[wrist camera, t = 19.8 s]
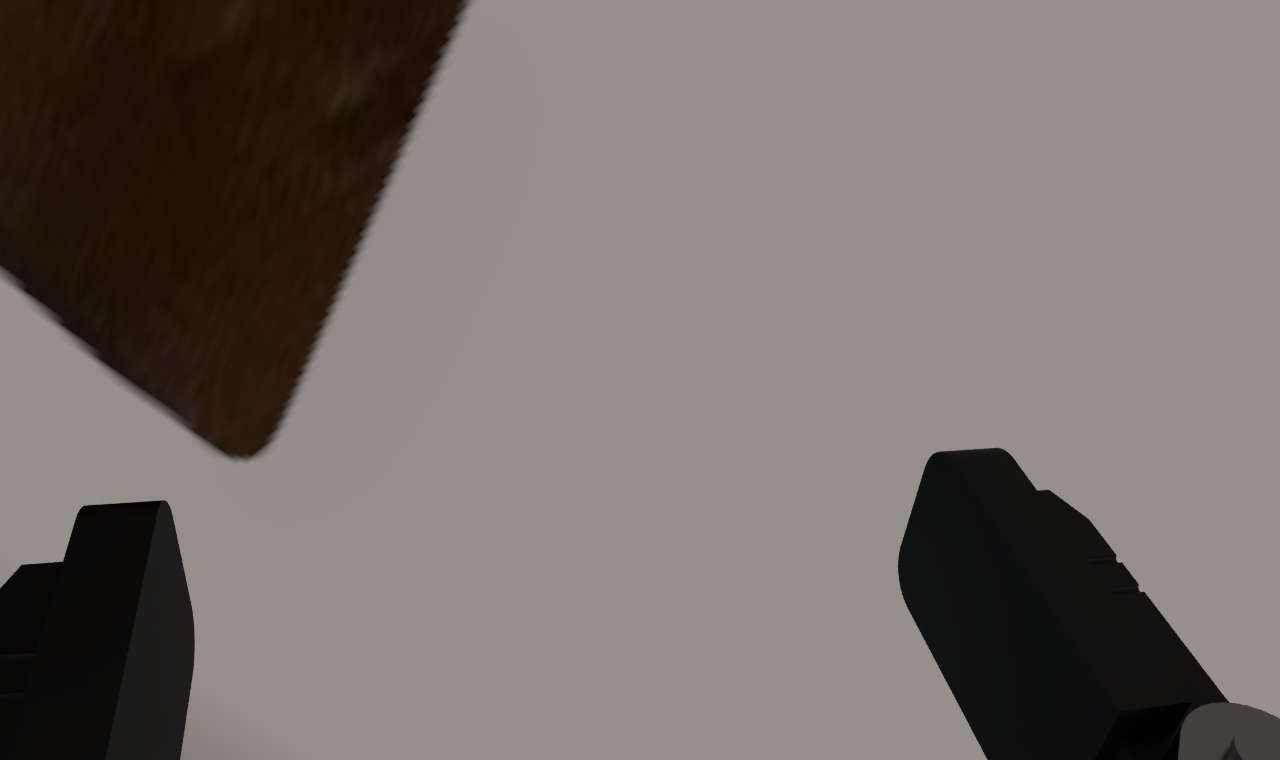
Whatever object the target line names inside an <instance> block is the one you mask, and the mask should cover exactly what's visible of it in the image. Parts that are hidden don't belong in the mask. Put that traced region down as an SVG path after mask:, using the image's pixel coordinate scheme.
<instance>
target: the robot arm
mask: <svg viewBox="0 0 1280 760" xmlns="http://www.w3.org/2000/svg"><path fill="white" fill-rule="evenodd" d="M898 573H899V581H900V587H901V591H902V595H903V598H904V600H905V603H906V605H907V607H908V609H909V611H910V613H911V615H912V617H913V619H914V621H915V622H916V625H917V626H918V628H919V630H920V632H921V634H922V636H923V638H924V640H925V642H926V643H927V645H928V647H929V649H930V651H931V653H932V655H933V657H934V659H935V661H936V662H937V664H938V666H939V668H940V670H941V672H942V674H943V676H944V678H945V680H946V682H947V683H948V685H949V687H950V689H951V691H952V693H953V695H954V697H955V699H956V700H957V702H958V704H959V706H960V708H961V710H962V712H963V714H964V716H965V718H966V719H967V721H968V723H969V725H970V727H971V729H972V731H973V733H974V735H975V737H976V739H977V741H978V742H979V744H980V746H981V748H982V750H983V752H984V754H985V756H986V758H987V760H1280V719H1279V718H1277V717H1276V716H1274V715H1271V714H1269V713H1267V712H1264V711H1262V710H1259V709H1256V708H1253V707H1250V706H1246V705H1241V704H1236V703H1229V701H1228V700H1227V699H1226V698H1225V697H1224V695H1223V694H1222V693H1221V692H1220V690H1219V689H1218V688H1217V686H1216V685H1215V684H1214V682H1213V681H1212V680H1211V678H1210V677H1209V676H1208V675H1207V673H1206V672H1205V671H1204V669H1203V668H1202V667H1201V665H1200V664H1199V663H1198V661H1197V660H1196V659H1195V657H1194V656H1193V655H1192V654H1191V652H1190V651H1189V650H1188V649H1187V647H1186V646H1185V644H1184V643H1183V642H1182V641H1181V639H1180V638H1179V637H1178V635H1177V634H1176V633H1175V631H1174V630H1173V629H1172V627H1171V626H1170V625H1169V623H1168V622H1167V621H1166V620H1165V618H1164V617H1163V616H1162V614H1161V613H1160V612H1159V611H1158V609H1157V608H1156V606H1155V605H1154V604H1153V602H1152V601H1151V600H1150V599H1149V597H1148V596H1147V595H1146V593H1145V592H1140V591H1139V589H1138V583H1137V582H1136V580H1135V579H1134V578H1133V577H1132V575H1131V574H1130V572H1129V571H1128V570H1127V569H1126V567H1125V566H1124V565H1123V564H1122V562H1121V563H1118V562H1117V561H1116V554H1115V553H1114V551H1113V550H1112V549H1111V547H1110V546H1109V545H1108V544H1107V542H1106V541H1105V540H1104V538H1103V537H1102V536H1101V534H1100V533H1099V532H1098V530H1097V529H1096V528H1095V527H1094V525H1093V524H1092V523H1091V522H1090V520H1089V519H1088V518H1086V517H1085V516H1084V515H1082V514H1081V513H1080V512H1078V511H1077V510H1075V509H1074V508H1073V507H1071V506H1070V505H1069V504H1067V503H1066V502H1065V501H1063V500H1062V499H1061V498H1059V497H1058V496H1057V495H1055V494H1054V493H1052V492H1051V491H1050V490H1041V491H1037V490H1036V488H1035V487H1034V486H1033V484H1032V483H1031V482H1030V480H1029V479H1028V477H1027V476H1026V475H1025V473H1024V472H1023V471H1022V469H1021V468H1020V467H1019V465H1018V464H1017V462H1016V461H1015V460H1014V459H1013V457H1012V456H1011V455H1010V454H1009V453H1008V452H1007V451H1005V450H1003V449H1001V448H990V449H974V450H960V451H944V452H936V453H935V454H933V455H932V456H931V457H930V458H929V460H928V462H927V464H926V466H925V469H924V472H923V475H922V479H921V482H920V485H919V489H918V492H917V496H916V498H915V502H914V505H913V508H912V511H911V515H910V518H909V521H908V524H907V528H906V531H905V534H904V537H903V541H902V544H901V547H900V552H899V559H898ZM194 645H195V640H194V621H193V612H192V606H191V601H190V597H189V592H188V587H187V582H186V577H185V573H184V568H183V563H182V558H181V554H180V549H179V544H178V539H177V534H176V530H175V525H174V520H173V516H172V512H171V509H170V506H169V504H168V503H167V502H166V501H149V502H133V503H119V504H118V503H117V504H102V505H87V506H83V507H82V508H81V509H80V510H79V512H78V514H77V517H76V520H75V523H74V527H73V530H72V533H71V537H70V540H69V543H68V547H67V550H66V554H65V557H64V560H63V562H54V563H41V564H27V565H21V566H20V567H19V569H18V570H17V571H16V572H15V573H14V574H13V575H12V576H11V577H10V578H9V579H8V581H7V582H6V583H5V584H4V585H3V586H2V587H1V588H0V760H180V756H181V750H182V743H183V736H184V730H185V723H186V716H187V709H188V702H189V696H190V689H191V682H192V675H193V667H194V650H195V649H194Z"/></svg>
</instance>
